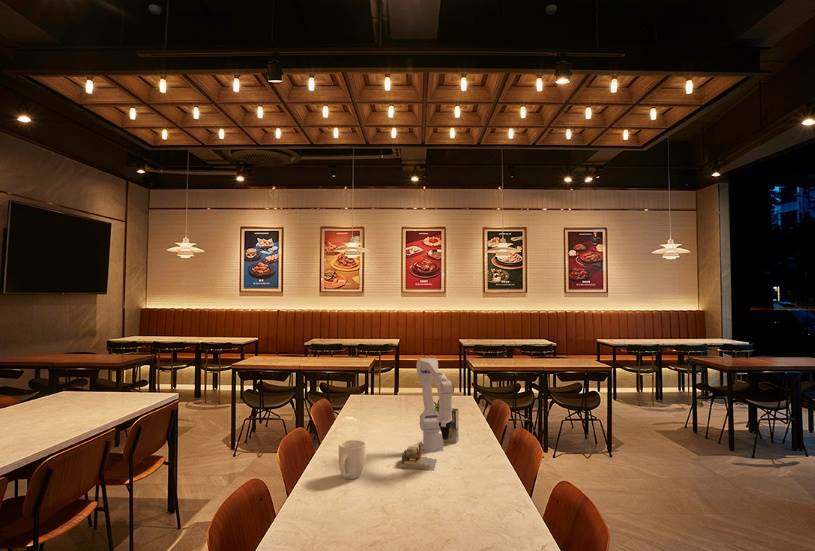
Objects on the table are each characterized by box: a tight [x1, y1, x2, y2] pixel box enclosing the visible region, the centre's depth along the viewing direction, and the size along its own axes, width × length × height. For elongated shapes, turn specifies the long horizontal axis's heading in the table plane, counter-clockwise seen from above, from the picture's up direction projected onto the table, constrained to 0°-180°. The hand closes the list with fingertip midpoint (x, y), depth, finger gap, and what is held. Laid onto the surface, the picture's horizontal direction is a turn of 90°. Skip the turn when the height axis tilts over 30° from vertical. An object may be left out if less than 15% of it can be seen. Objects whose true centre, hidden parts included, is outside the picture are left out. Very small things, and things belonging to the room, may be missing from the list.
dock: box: [398, 449, 438, 472], centre depth 197 cm, size 15×14×4 cm
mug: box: [338, 439, 367, 480], centre depth 181 cm, size 15×11×13 cm
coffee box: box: [440, 407, 460, 444], centre depth 232 cm, size 9×6×16 cm
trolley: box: [406, 441, 423, 460], centre depth 198 cm, size 6×6×7 cm
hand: (445, 439), depth 200 cm, fingers closed
